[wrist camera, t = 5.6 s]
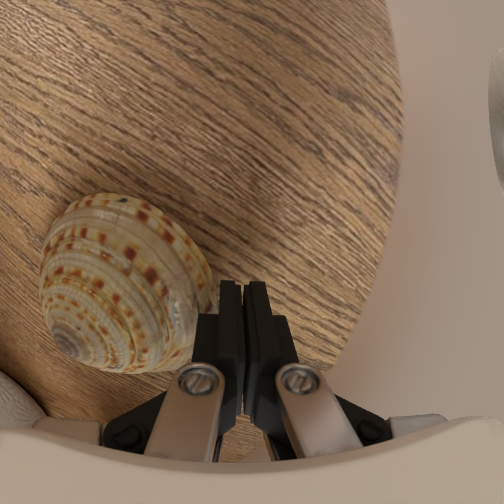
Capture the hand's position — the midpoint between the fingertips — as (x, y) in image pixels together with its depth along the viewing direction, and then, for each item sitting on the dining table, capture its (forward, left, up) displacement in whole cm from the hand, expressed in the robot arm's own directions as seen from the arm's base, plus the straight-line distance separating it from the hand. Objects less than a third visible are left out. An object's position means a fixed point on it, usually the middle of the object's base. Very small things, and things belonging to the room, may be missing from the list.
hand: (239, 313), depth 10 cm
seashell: (+5, -3, -2) cm, 5 cm away
